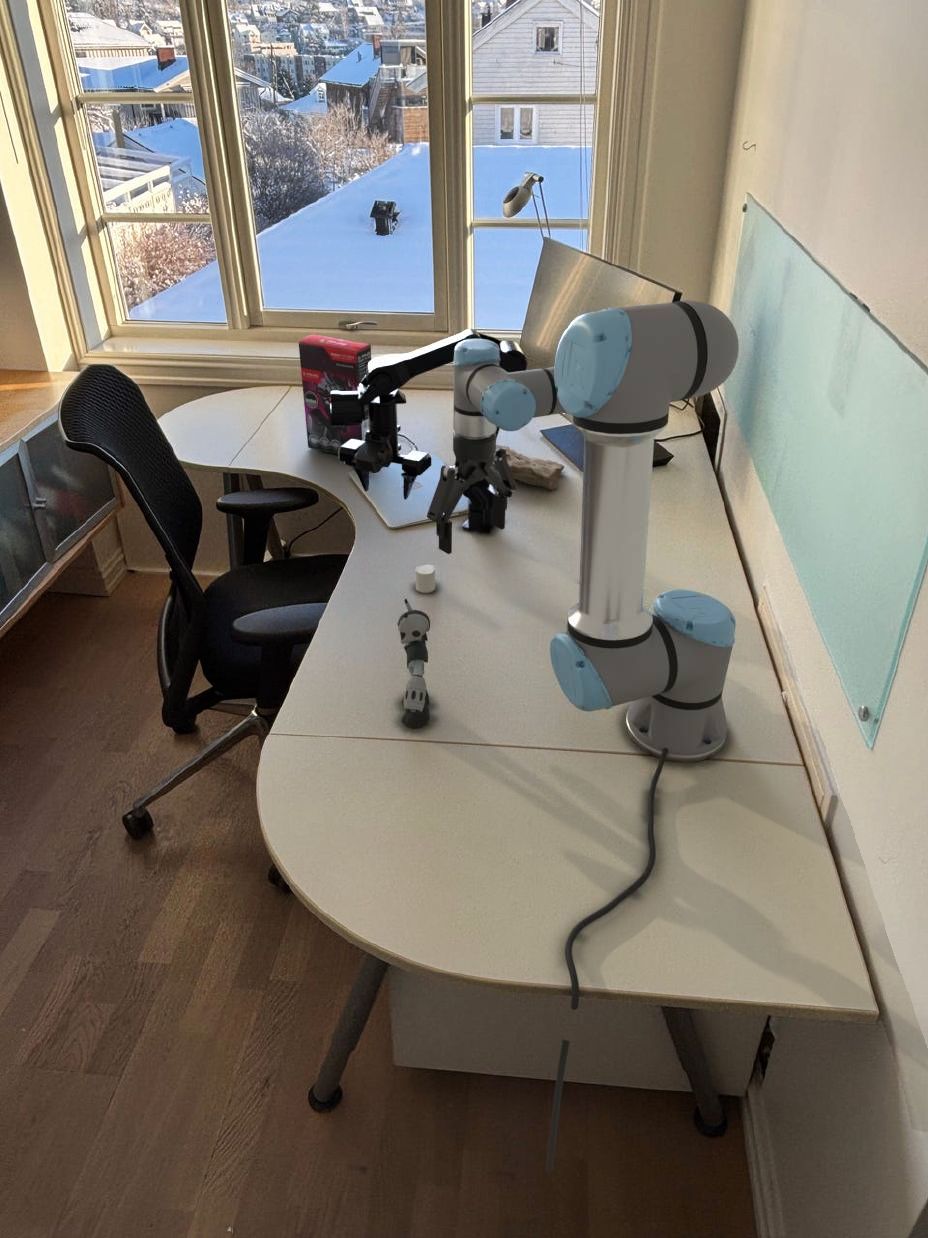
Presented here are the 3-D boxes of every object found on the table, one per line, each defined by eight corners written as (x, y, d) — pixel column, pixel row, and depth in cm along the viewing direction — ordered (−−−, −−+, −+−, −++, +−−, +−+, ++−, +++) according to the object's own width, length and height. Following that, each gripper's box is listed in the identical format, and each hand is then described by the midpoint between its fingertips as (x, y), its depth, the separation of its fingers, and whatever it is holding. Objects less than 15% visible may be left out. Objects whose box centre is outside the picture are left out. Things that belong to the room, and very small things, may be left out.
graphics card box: (305, 448, 231) (295, 340, 216) (321, 439, 236) (312, 332, 221) (363, 462, 225) (356, 351, 209) (378, 452, 230) (373, 343, 215)
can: (437, 584, 178) (437, 565, 176) (431, 594, 175) (431, 575, 173) (419, 581, 179) (419, 563, 177) (413, 591, 176) (413, 572, 174)
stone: (462, 471, 213) (468, 446, 211) (478, 460, 226) (484, 436, 224) (548, 498, 210) (555, 473, 207) (560, 485, 223) (567, 461, 221)
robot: (432, 752, 138) (431, 644, 127) (400, 753, 138) (395, 645, 127) (430, 673, 154) (428, 571, 143) (401, 674, 154) (397, 571, 143)
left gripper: (321, 430, 180) (327, 502, 189) (407, 446, 174) (409, 519, 183) (349, 411, 189) (353, 480, 197) (432, 425, 183) (433, 496, 191)
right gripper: (510, 407, 169) (505, 510, 181) (405, 444, 154) (407, 553, 167) (540, 419, 164) (533, 524, 176) (435, 458, 150) (435, 569, 162)
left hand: (386, 494), depth 192 cm, fingers open, 9 cm apart
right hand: (472, 538), depth 171 cm, fingers open, 13 cm apart
